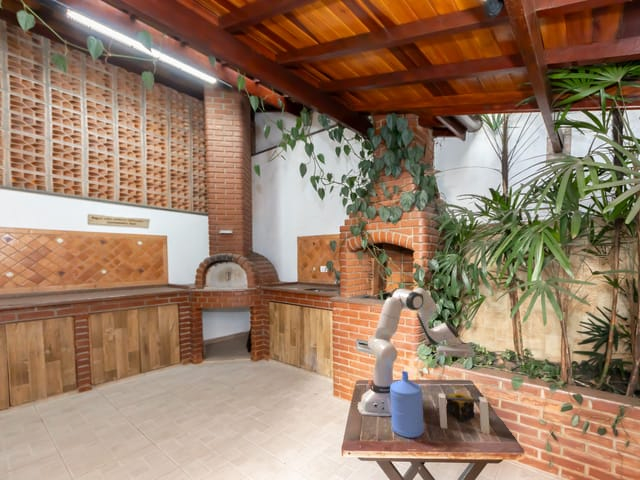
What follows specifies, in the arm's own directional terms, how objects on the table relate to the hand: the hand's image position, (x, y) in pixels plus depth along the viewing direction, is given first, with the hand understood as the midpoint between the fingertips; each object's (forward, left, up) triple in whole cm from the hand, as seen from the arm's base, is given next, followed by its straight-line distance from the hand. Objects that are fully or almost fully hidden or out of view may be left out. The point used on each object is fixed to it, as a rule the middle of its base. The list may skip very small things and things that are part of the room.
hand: (455, 356), depth 172 cm
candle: (-3, -8, -29) cm, 30 cm away
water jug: (-36, -18, -29) cm, 49 cm away
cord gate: (-8, -20, -28) cm, 35 cm away
